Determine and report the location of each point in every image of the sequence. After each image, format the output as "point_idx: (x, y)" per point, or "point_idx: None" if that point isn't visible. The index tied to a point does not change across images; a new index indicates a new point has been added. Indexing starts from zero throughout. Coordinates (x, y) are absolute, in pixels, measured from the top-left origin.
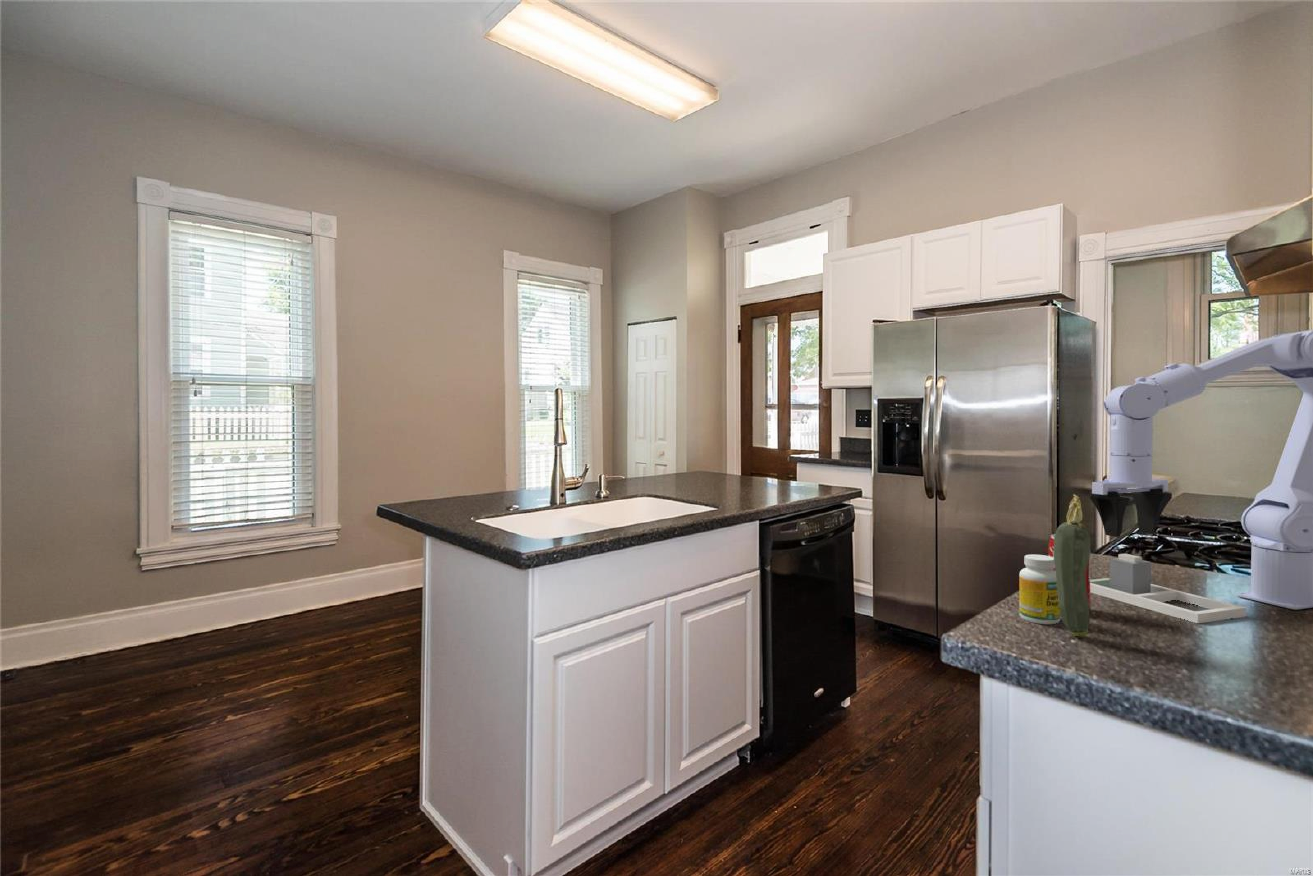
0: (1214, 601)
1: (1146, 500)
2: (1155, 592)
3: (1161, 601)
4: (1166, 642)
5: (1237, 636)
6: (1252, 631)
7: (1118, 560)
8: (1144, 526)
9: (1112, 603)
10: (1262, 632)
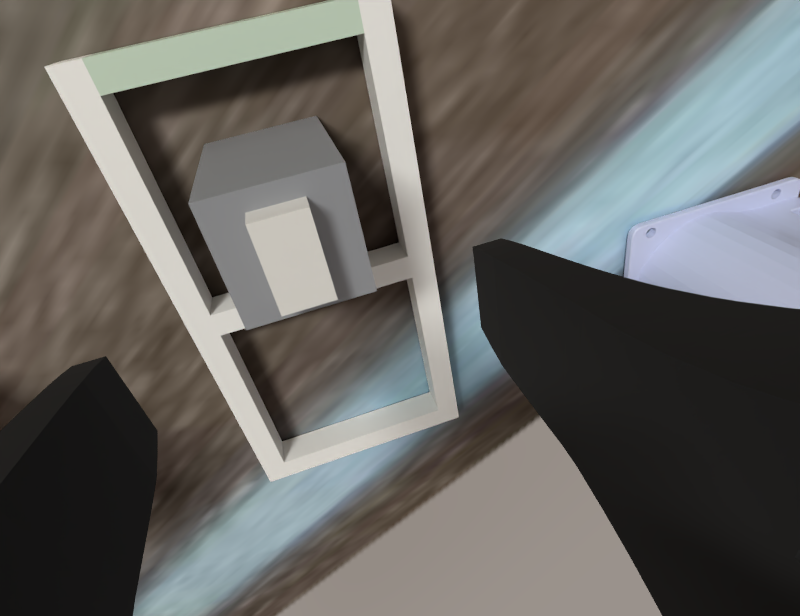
0: (431, 373)
1: (692, 522)
2: None
3: None
4: None
5: (292, 518)
6: (358, 486)
7: (215, 255)
8: (499, 310)
9: (118, 298)
10: (374, 488)
